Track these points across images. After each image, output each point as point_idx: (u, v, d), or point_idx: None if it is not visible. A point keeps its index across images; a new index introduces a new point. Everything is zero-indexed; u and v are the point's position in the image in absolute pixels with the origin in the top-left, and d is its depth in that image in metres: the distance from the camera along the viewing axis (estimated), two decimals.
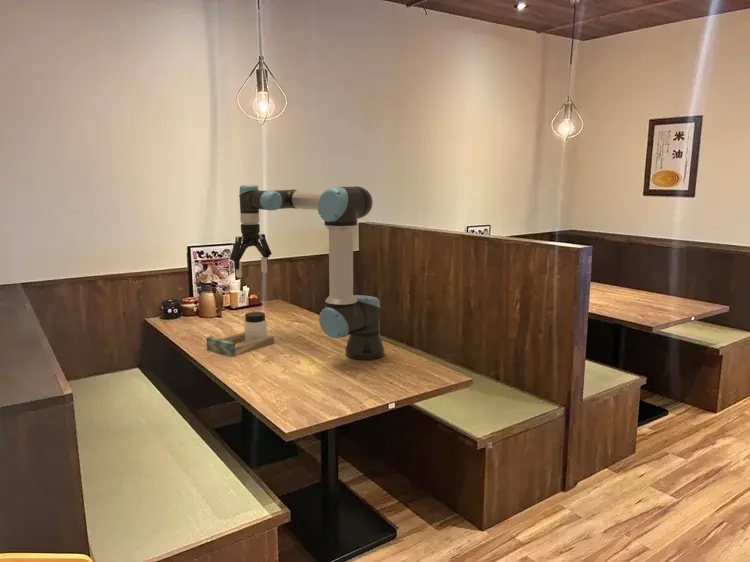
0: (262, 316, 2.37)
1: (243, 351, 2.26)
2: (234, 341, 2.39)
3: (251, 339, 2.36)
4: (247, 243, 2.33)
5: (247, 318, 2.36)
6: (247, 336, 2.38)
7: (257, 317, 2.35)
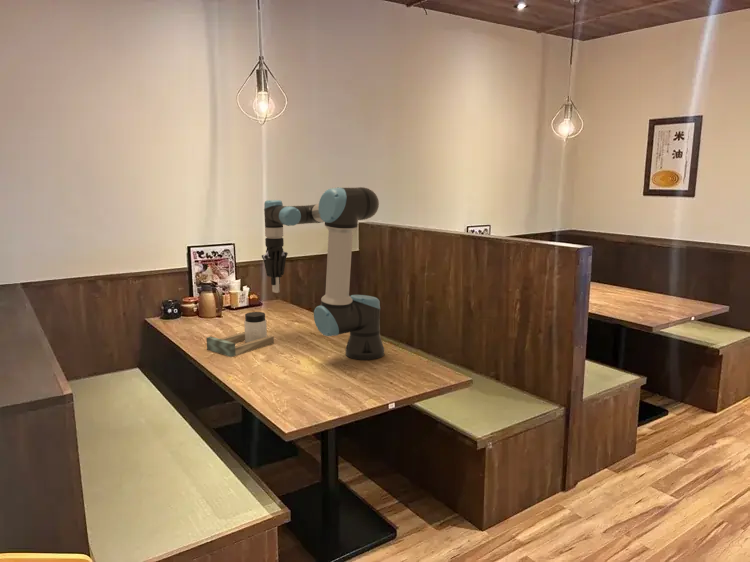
0: (262, 316, 2.37)
1: (243, 351, 2.26)
2: (234, 341, 2.39)
3: (251, 339, 2.36)
4: (274, 258, 2.41)
5: (247, 318, 2.36)
6: (247, 336, 2.38)
7: (257, 317, 2.35)
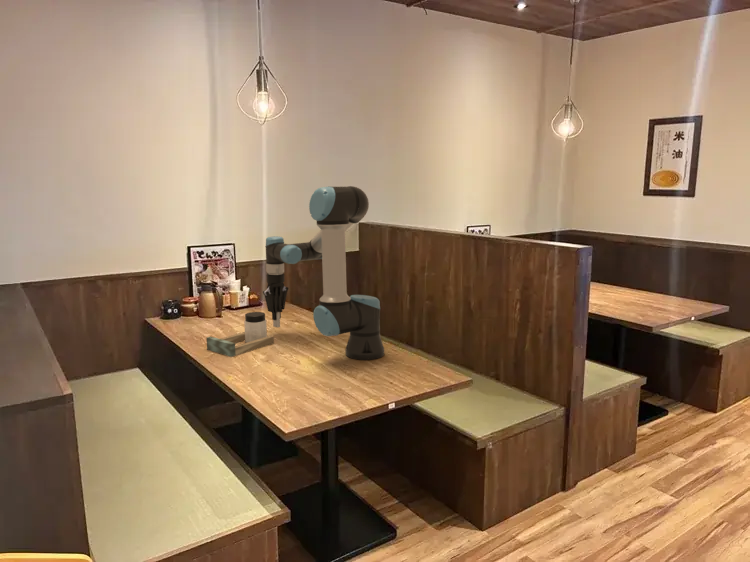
0: (262, 316, 2.37)
1: (243, 351, 2.26)
2: (234, 341, 2.39)
3: (251, 339, 2.36)
4: (275, 294, 2.44)
5: (247, 318, 2.36)
6: (247, 336, 2.38)
7: (257, 317, 2.35)
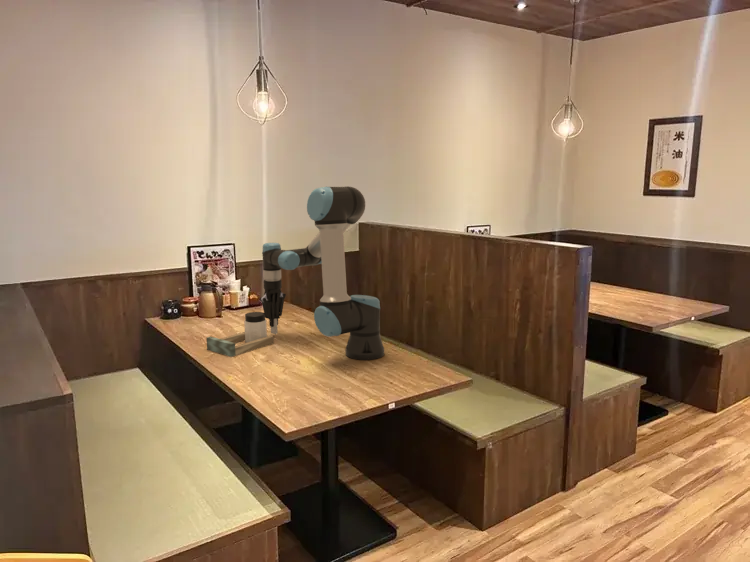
0: (262, 316, 2.37)
1: (243, 351, 2.26)
2: (234, 341, 2.39)
3: (251, 339, 2.36)
4: (272, 300, 2.43)
5: (247, 318, 2.36)
6: (247, 336, 2.38)
7: (257, 317, 2.35)
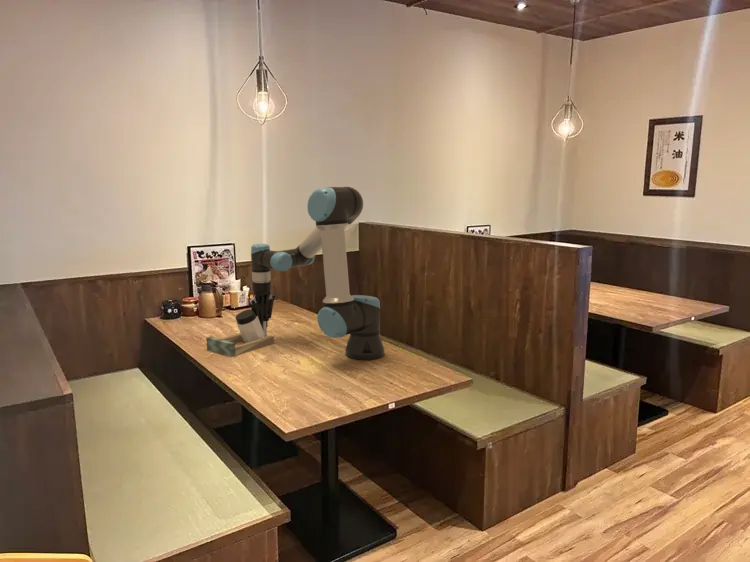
0: (252, 315, 2.34)
1: (243, 351, 2.26)
2: (234, 341, 2.39)
3: (249, 339, 2.36)
4: (261, 302, 2.39)
5: (238, 321, 2.33)
6: (244, 337, 2.37)
7: (248, 318, 2.32)
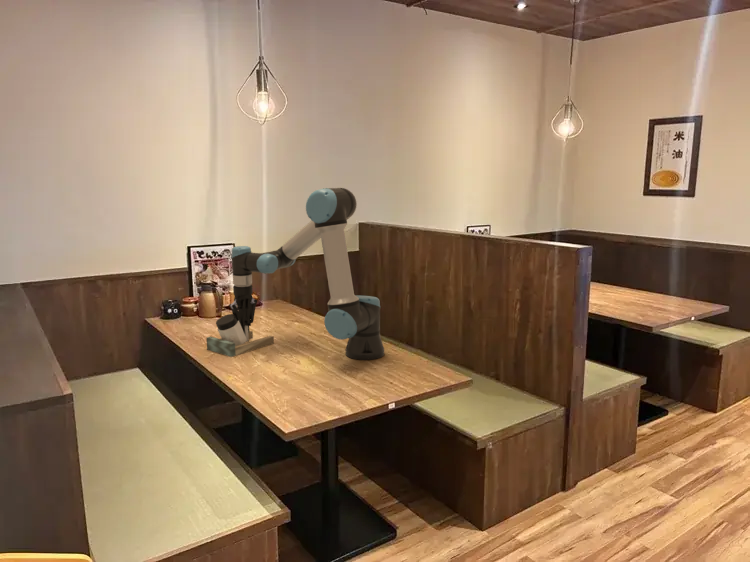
0: (234, 320, 2.26)
1: (243, 351, 2.26)
2: None
3: None
4: (242, 307, 2.31)
5: (219, 327, 2.25)
6: None
7: (229, 323, 2.25)
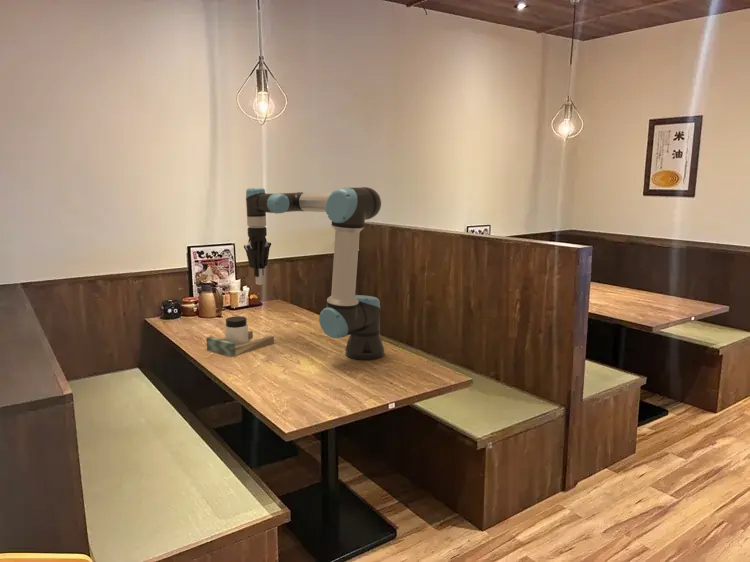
0: (244, 321, 2.29)
1: (243, 351, 2.26)
2: None
3: None
4: (257, 248, 2.32)
5: (228, 323, 2.28)
6: None
7: (239, 322, 2.28)
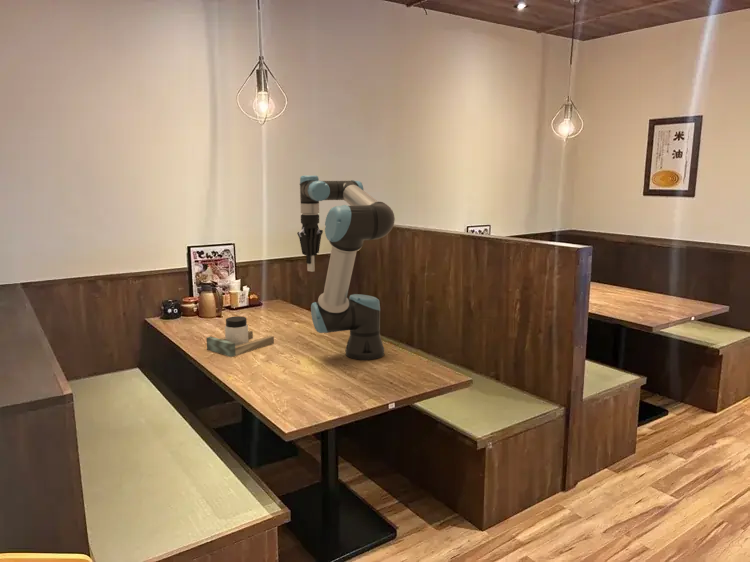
0: (244, 321, 2.29)
1: (243, 351, 2.26)
2: None
3: None
4: (310, 235, 2.34)
5: (228, 323, 2.28)
6: None
7: (239, 322, 2.28)
